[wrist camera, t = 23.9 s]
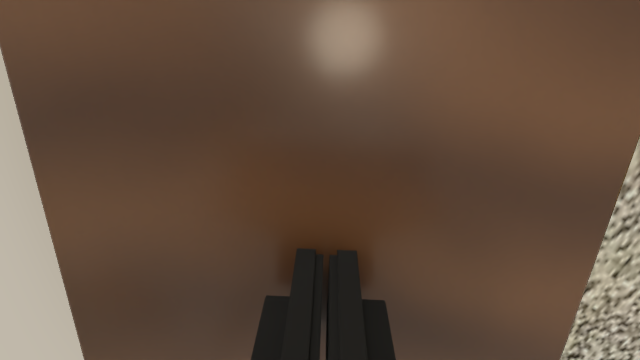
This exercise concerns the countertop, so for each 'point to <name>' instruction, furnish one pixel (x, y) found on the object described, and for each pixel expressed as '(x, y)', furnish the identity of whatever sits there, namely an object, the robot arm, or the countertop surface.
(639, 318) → the countertop surface
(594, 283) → the countertop surface
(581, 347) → the countertop surface
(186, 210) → the chest lid
